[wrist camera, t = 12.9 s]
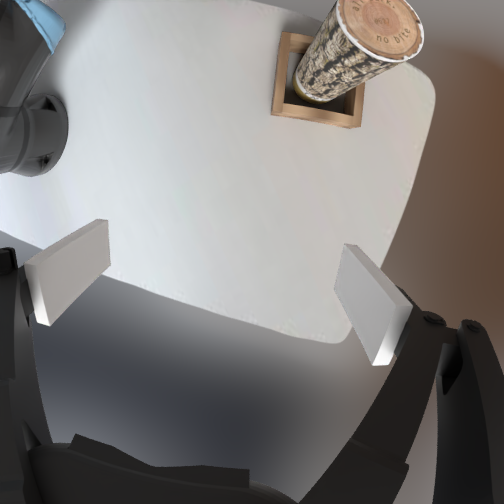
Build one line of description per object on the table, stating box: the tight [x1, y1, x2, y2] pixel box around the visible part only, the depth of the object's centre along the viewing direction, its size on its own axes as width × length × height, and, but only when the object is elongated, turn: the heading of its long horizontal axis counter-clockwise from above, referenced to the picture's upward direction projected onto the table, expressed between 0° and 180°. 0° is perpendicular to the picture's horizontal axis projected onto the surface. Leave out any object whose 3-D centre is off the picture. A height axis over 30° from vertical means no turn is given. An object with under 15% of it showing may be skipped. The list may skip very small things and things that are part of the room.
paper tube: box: [293, 0, 424, 104], centre depth 25 cm, size 7×7×25 cm
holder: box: [271, 32, 365, 129], centre depth 34 cm, size 12×12×5 cm
